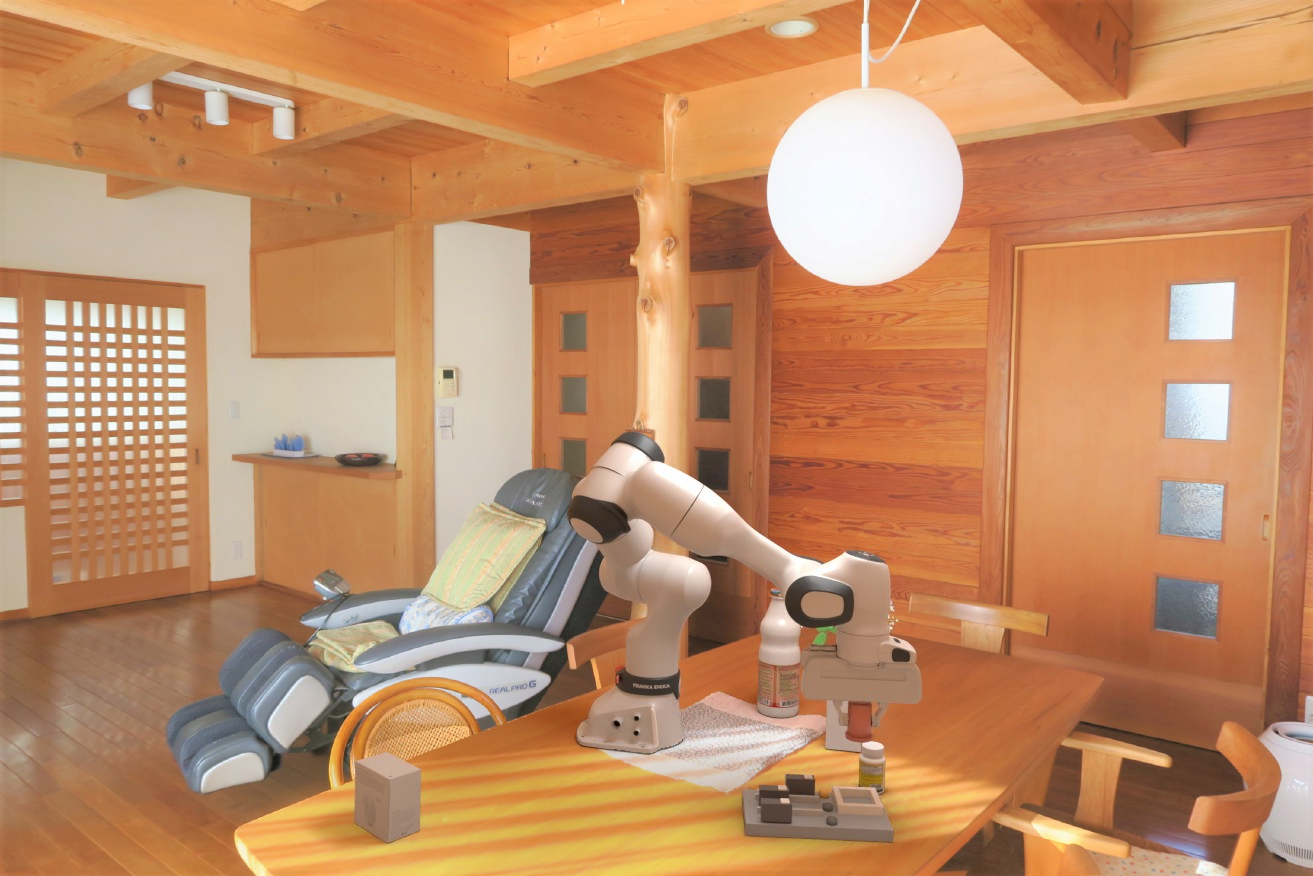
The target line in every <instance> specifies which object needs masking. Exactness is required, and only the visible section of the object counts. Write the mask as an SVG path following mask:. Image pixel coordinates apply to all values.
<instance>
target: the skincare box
mask: <svg viewBox="0 0 1313 876" xmlns="http://www.w3.org/2000/svg"><path fill="white" fill-rule="evenodd" d="M421 787H422V769H421V768H420V767H417V766H416V765H413V764H411V763H410V762H407V761H405V760H403V759H401V758H399V757H397V756H396V755H394V754H391V753H390V752H387V751H385V752H383V753H379V754H376V755H372V756H369V757H365V758H362V759H361V758H360V759H358V760H355V762H354V811H353V812H354V815H353V823H355V824H356V825H357V826H358V827H360V828H362V829H364V830H365V831H367V832H369V833H370V834H371V835H374V836H375V837H377V838H378V839H380V840H382V842H384V843H386V844H389V843H392V842H394V841H396V840H397V841H398V840H400V839H403V838H405V837H407V836H410V835H413V834H414V833H415V834H416V833H417V832H419V831H420V830H421V796H422V795H421V792H422V791H421V790H422V789H421Z"/></svg>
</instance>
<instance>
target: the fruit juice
mask: <svg viewBox="0 0 1313 876" xmlns="http://www.w3.org/2000/svg"><path fill="white" fill-rule="evenodd" d="M769 595H770V598H771V600H770V603H769V605H768V608H767V610H766V613H765V615H764V617H763V618H762V620H761V622H760V627H759V631H760V635H761V636H760V637H761V642H760V645H759V647H758V661H757V662H758V665H757V666H758V668H757V670H758V671H757V672H758V673H757V675H758V676H757V697H756V699H757V700H756V705H757V711H758V712H759V713H760V714H761V715H763V716H767V717H770V718H775V717H776V718H778V719H784V718H785V719H788V718H793V717H794V716H796V715H798V713H799V707H800V686H801V663H800V658H801V648H800V644H799V639H800V637H801V631H802V630H801V625H799V624H797V623H796V622H795V621H794V620H793V619H792V618H791V617H790V616H789V614H788V612H787V610H786V607H785V603H784V599H783V597H782V595H781V593H780V592H779V590H778V589H777V587H774V588H771V590H770V594H769Z"/></svg>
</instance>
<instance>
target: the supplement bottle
mask: <svg viewBox="0 0 1313 876" xmlns="http://www.w3.org/2000/svg"><path fill="white" fill-rule="evenodd" d="M884 754H885V746H884V745H883V744H882V743H880V742H878V741H873V740H872V741H870V742H866V743H861V752H860V754H859V758H858V787H872V788H875V789H876V791H877V793H878V795H879V796H880V795H881V794H884V792H885V787H886V762H887V761H886V757H885V755H884Z"/></svg>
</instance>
